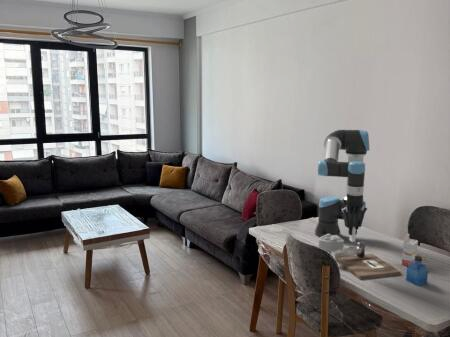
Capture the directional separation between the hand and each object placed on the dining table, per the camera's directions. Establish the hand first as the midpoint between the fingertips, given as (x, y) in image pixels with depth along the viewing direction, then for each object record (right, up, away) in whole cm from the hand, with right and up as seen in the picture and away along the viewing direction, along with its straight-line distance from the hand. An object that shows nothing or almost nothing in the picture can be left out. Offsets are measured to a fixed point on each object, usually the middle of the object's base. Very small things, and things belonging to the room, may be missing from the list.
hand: (352, 240), depth 200 cm
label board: (+8, -14, +4) cm, 17 cm away
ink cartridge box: (+32, -13, +9) cm, 36 cm away
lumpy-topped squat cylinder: (-4, -10, +26) cm, 28 cm away
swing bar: (+1, -11, +10) cm, 15 cm away
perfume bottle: (+26, -17, -12) cm, 33 cm away
